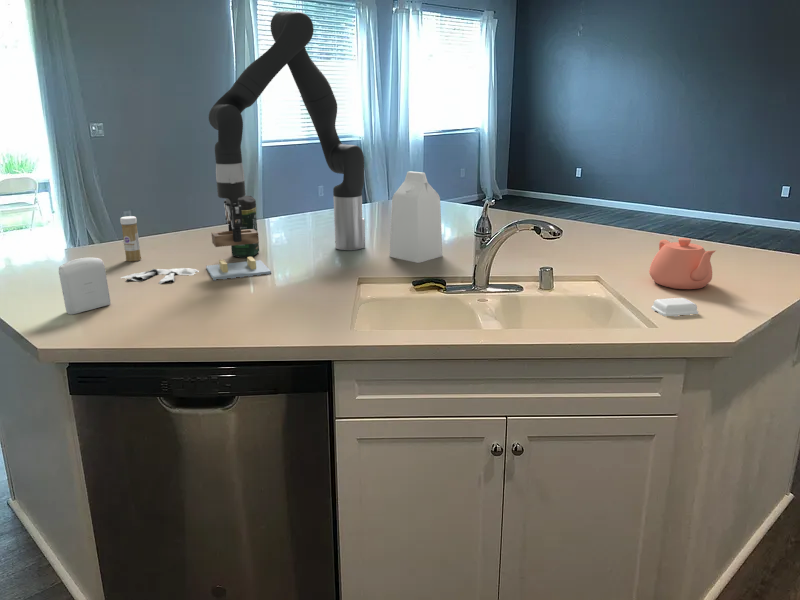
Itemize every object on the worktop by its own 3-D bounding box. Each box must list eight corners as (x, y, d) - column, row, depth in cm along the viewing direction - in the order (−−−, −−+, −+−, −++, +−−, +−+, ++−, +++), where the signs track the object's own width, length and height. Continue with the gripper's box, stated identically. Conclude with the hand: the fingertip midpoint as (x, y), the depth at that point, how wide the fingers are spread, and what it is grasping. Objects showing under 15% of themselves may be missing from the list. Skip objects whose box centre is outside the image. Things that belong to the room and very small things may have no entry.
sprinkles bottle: (123, 262, 196) (117, 218, 192) (129, 258, 201) (123, 215, 196) (138, 261, 196) (132, 218, 192) (144, 258, 201) (138, 215, 197)
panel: (260, 262, 195) (259, 252, 194) (271, 273, 182) (270, 262, 181) (206, 268, 188) (205, 257, 187) (213, 280, 176) (212, 269, 175)
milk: (442, 256, 201) (443, 172, 193) (418, 263, 193) (418, 175, 185) (414, 250, 209) (414, 169, 201) (389, 256, 201) (388, 172, 193)
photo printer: (71, 316, 149) (62, 264, 145) (62, 312, 151) (53, 261, 148) (113, 305, 156) (106, 255, 152) (105, 301, 159) (97, 253, 155)
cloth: (209, 271, 188) (208, 263, 187) (169, 293, 168) (168, 284, 167) (147, 268, 192) (146, 260, 191) (100, 289, 172) (98, 280, 171)
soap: (664, 318, 146) (665, 306, 145) (648, 309, 152) (649, 297, 151) (700, 316, 147) (702, 304, 146) (683, 306, 153) (685, 295, 152)
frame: (254, 238, 188) (253, 228, 187) (258, 243, 182) (258, 232, 181) (212, 242, 183) (211, 232, 182) (215, 247, 178) (214, 236, 177)
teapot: (734, 295, 161) (742, 247, 157) (680, 299, 158) (686, 250, 154) (680, 272, 181) (686, 229, 177) (632, 275, 178) (637, 232, 175)
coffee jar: (254, 258, 199) (249, 198, 194) (229, 258, 200) (223, 198, 194) (262, 251, 209) (258, 194, 203) (238, 250, 209) (233, 193, 203)
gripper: (212, 177, 182) (217, 235, 187) (220, 183, 170) (226, 245, 175) (239, 176, 185) (243, 233, 190) (249, 182, 172) (253, 243, 178)
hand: (235, 239), depth 182 cm, fingers closed on frame, 6 cm apart
